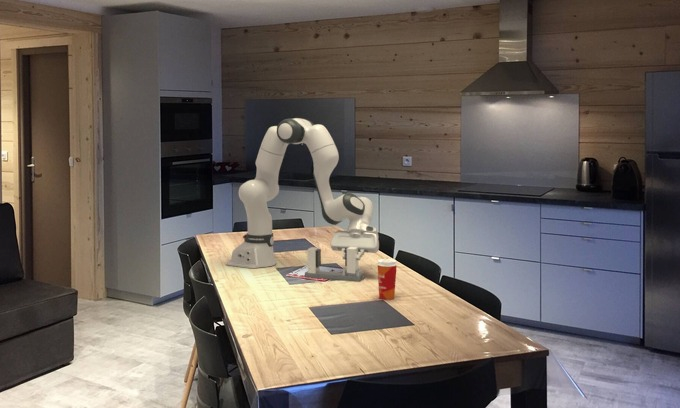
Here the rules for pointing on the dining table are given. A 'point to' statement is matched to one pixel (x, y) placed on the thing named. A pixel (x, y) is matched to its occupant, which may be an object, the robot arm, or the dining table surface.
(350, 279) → the rail
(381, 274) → the paper cup
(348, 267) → the block
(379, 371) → the dining table surface
